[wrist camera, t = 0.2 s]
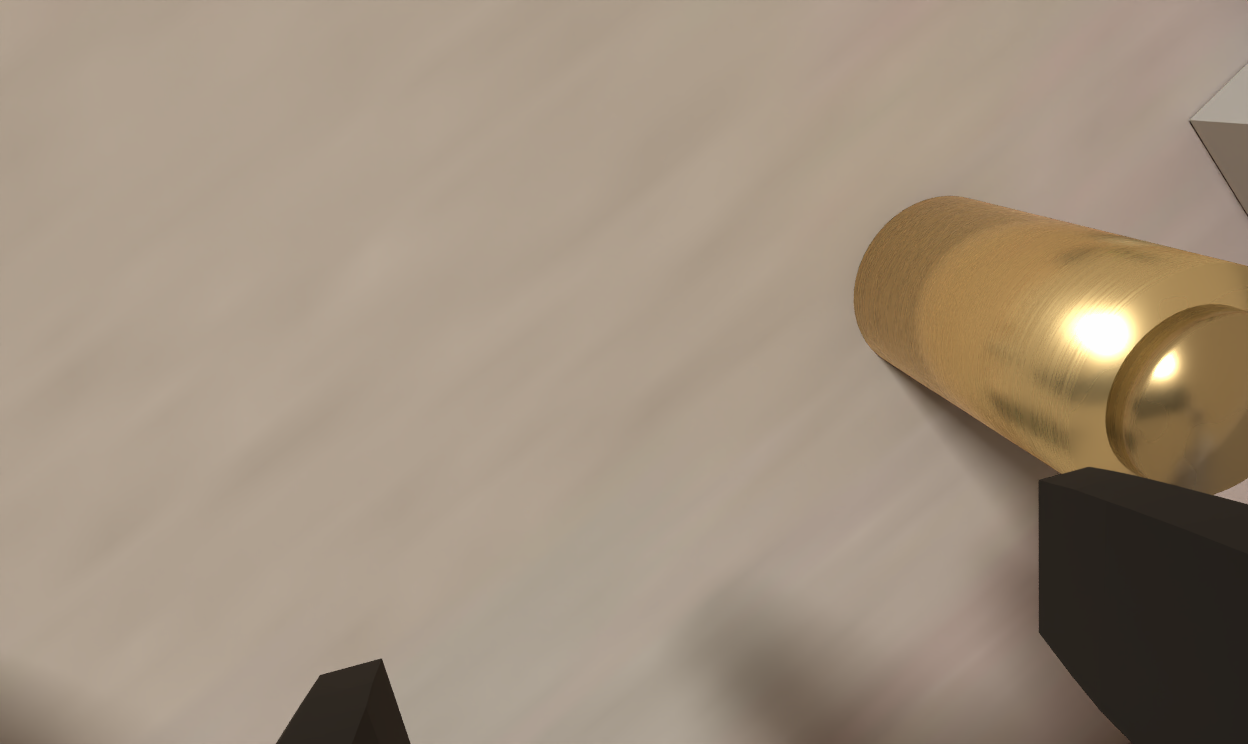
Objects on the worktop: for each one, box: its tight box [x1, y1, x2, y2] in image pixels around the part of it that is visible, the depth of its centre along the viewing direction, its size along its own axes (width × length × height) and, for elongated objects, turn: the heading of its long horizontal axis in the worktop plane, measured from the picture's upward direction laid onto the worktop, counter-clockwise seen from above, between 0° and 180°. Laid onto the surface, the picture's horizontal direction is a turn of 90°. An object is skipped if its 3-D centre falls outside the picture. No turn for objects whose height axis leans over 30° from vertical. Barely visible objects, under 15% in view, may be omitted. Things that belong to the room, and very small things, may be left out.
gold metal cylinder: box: [854, 196, 1248, 495], centre depth 16 cm, size 4×4×8 cm
